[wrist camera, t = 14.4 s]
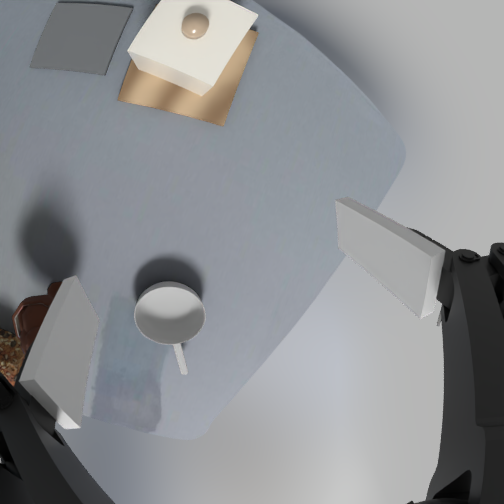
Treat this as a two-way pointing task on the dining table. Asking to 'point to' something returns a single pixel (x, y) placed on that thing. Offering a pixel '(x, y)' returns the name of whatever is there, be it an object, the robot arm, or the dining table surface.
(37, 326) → the ice cream bowl
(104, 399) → the dining table surface
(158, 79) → the board
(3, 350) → the bread
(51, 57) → the mat
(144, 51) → the knobbed white box
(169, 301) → the saucepan
